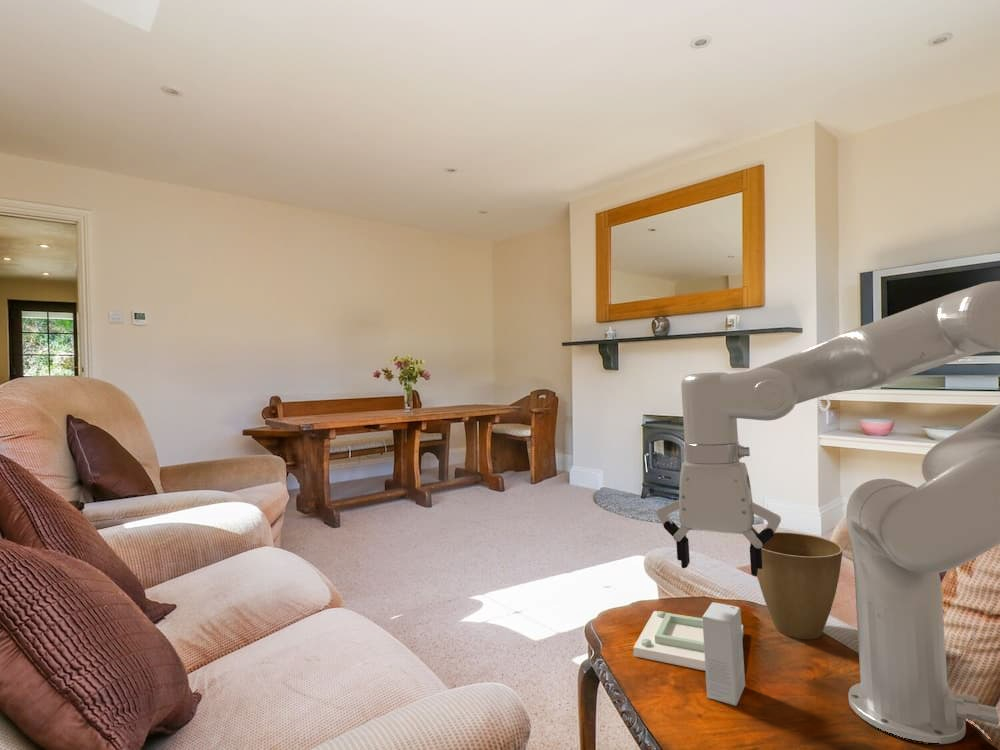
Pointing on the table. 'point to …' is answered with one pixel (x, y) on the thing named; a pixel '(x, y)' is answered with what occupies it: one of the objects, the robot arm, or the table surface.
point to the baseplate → (673, 640)
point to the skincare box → (723, 653)
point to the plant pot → (799, 582)
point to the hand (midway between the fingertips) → (719, 569)
